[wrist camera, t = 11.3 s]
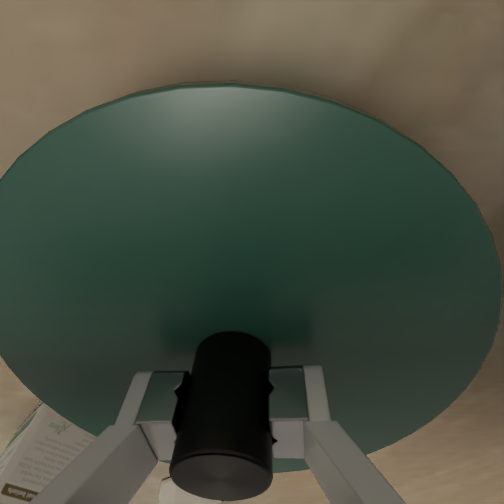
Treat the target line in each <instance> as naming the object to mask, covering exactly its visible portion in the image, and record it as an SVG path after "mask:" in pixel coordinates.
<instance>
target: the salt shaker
mask: <svg viewBox="0 0 504 504" xmlns="http://www.w3.org/2000/svg"><path fill="white" fill-rule="evenodd" d="M158 504H221V501H220V500H211V499H206V498H202V497H198V496H195V495H192V494H190V493H188V492H186V491H184V490H182V489H181V488H179V487H178V486H177V485H176V484H175V483H174V482H173V481H172V479H171V477H170V478H168V479H165V480H163V481H162V482H161V486H160V493H159V500H158Z"/></svg>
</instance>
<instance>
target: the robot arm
mask: <svg viewBox="0 0 504 504" xmlns="http://www.w3.org/2000/svg"><path fill="white" fill-rule="evenodd" d="M189 380H190V373H189V371H138V372H137V373H136V374H135V376H134V377H133V380H132V382H131V385H130V387H129V390H128V392H127V395H126V397H125V400H124V402H123V405H122V407H121V410H120V412H119V415H118V417H117V420H116V422H115V425H109V426H108V427H107V428H106V429H105V430H104V431H103V432H102V433H101V434H100V435H99V436H98V437H97V438H96V439H95V440H94V441H92V442H91V443H90V444H89V445H88V446H87V447H86V448H85V449H84V450H83V451H82V452H81V453H80V454H79V455H78V456H77V457H76V458H75V459H74V460H73V461H72V462H71V463H70V464H69V465H67V466H66V467H65V468H64V469H63V470H62V471H61V472H60V473H59V474H58V475H57V476H56V477H55V478H54V479H53V480H52V481H51V482H50V483H49V484H48V485H47V486H46V487H45V488H44V489H43V490H41V491H40V492H39V493H38V494H37V495H36V496H35V497H34V498H33V499H32V500H31V501H30V502H29V503H28V504H128V503H129V501H130V500H131V499H132V497H133V496H134V494H135V493H136V492H137V490H138V489H139V488H140V486H141V485H142V483H143V482H144V481H145V479H146V478H147V477H148V475H149V474H150V472H151V471H152V470H153V468H154V467H155V466H156V464H157V463H158V461H157V460H171V459H172V454H173V450H174V446H175V441H176V437H177V432H178V428H179V424H180V419H181V415H182V410H183V406H184V402H185V397H186V393H187V388H188V384H189ZM268 381H269V390H270V394H269V396H268V397H269V427H270V434H271V436H272V449H273V455H274V458H296V459H305V461H306V463H307V465H308V466H309V468H310V470H311V471H312V473H313V475H314V476H315V478H316V480H317V481H318V483H319V484H320V486H321V488H322V489H323V491H324V493H325V494H326V496H327V498H328V499H329V501H330V503H331V504H406V503H405V502H404V500H403V499H402V498H401V497H400V496H399V494H398V493H397V492H396V491H395V490H394V488H393V487H392V486H391V485H390V484H389V483H388V481H387V480H386V479H385V478H384V477H383V475H382V474H381V473H380V472H379V471H378V469H377V468H376V467H375V466H374V465H373V463H372V462H371V461H370V460H369V459H368V457H367V456H366V455H365V454H364V453H363V451H362V450H361V449H360V448H359V447H358V445H357V444H356V443H355V442H354V441H353V440H352V438H351V437H350V436H349V435H348V434H347V432H346V431H345V430H344V429H343V428H342V426H341V425H340V424H339V423H338V422H337V420H331V418H330V412H329V406H328V400H327V394H326V388H325V382H324V376H323V370H322V367H321V365H307V366H303V365H297V366H277V367H269V373H268Z"/></svg>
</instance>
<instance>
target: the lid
mask: <svg viewBox="0 0 504 504" xmlns="http://www.w3.org/2000/svg"><path fill="white" fill-rule="evenodd" d="M502 298H503V290H502V277H501V265H500V261H499V258H498V255H497V251H496V248H495V244H494V241H493V237H492V234H491V232H490V230H489V228H488V226H487V224H486V222H485V220H484V219H483V217H482V215H481V213H480V211H479V209H478V207H477V205H476V203H475V202H474V201H473V199H472V198H471V197H470V196H469V194H468V193H467V192H466V191H465V189H464V188H463V187H462V186H461V184H460V183H459V182H458V181H457V179H456V178H455V177H454V175H453V174H452V173H451V172H450V171H449V170H447V169H446V168H445V167H444V166H443V165H442V164H441V163H440V162H438V161H437V160H436V159H435V158H434V157H433V156H432V155H430V154H429V153H428V152H427V151H426V150H425V149H424V148H423V147H421V146H420V145H419V144H417V143H416V142H415V141H413V140H412V139H410V138H409V137H407V136H405V135H404V134H402V133H401V132H399V131H397V130H396V129H394V128H393V127H391V126H389V125H388V124H386V123H385V122H383V121H381V120H380V119H378V118H377V117H375V116H373V115H370V114H368V113H366V112H363V111H361V110H359V109H356V108H354V107H351V106H349V105H347V104H344V103H342V102H340V101H337V100H335V99H333V98H330V97H326V96H322V95H318V94H314V93H310V92H306V91H303V90H299V89H295V88H291V87H287V86H282V85H273V84H264V83H254V82H245V81H235V80H230V81H206V82H184V83H179V84H173V85H168V86H163V87H158V88H153V89H148V90H142V91H137V92H135V93H132V94H129V95H126V96H124V97H121V98H118V99H115V100H113V101H110V102H107V103H104V104H102V105H99V106H96V107H94V108H91V109H89V110H86V111H84V112H83V113H81V114H79V115H77V116H76V117H74V118H72V119H70V120H69V121H67V122H65V123H63V124H61V125H60V126H58V127H56V128H54V129H53V130H51V131H49V132H48V133H47V134H45V135H44V136H43V137H42V138H41V139H39V140H38V141H37V142H36V143H35V144H33V145H32V146H31V147H30V148H29V149H27V150H26V151H25V152H24V153H23V154H22V155H20V156H19V157H18V158H17V159H16V161H15V162H14V163H13V164H12V166H11V167H10V168H9V169H8V171H7V172H6V173H5V174H4V176H3V177H2V178H1V179H0V355H1V357H2V358H3V360H4V361H5V363H6V364H7V366H8V367H9V368H10V369H11V370H12V371H13V373H14V374H15V375H16V376H17V377H18V378H19V380H20V381H21V382H22V383H23V384H24V385H25V386H26V387H27V388H28V389H29V390H30V391H31V392H32V393H33V394H34V395H36V396H37V397H38V398H39V399H40V400H41V401H42V402H44V403H45V404H46V405H47V406H49V407H50V408H51V409H53V410H54V411H55V412H56V413H58V414H59V415H60V416H62V417H64V418H65V419H67V420H68V421H70V422H71V423H73V424H75V425H76V426H78V427H79V428H81V429H83V430H85V431H87V432H88V433H90V434H92V435H94V436H96V437H98V436H99V435H100V434H101V433H102V432H103V431H104V430H105V429H106V428H107V427H108V426H109V425H115V422H116V420H117V417H118V415H119V412H120V410H121V407H122V405H123V402H124V400H125V397H126V395H127V392H128V390H129V387H130V385H131V382H132V380H133V377H134V376H135V374H136V373H137V372H138V371H189V373H190V380H189V384H188V388H187V393H186V397H185V402H184V406H183V410H182V415H181V419H180V424H179V428H178V432H177V437H176V441H175V446H174V450H173V454H172V459H171V460H159V461H162V462H166V463H170V468H169V472H170V477H171V479H172V481H173V482H174V483H175V484H176V485H177V486H178V487H179V488H181V489H182V490H184V491H186V492H188V493H190V494H192V495H195V496H198V497H202V498H206V499H211V500H220V501H235V500H243V499H248V498H252V497H255V496H257V495H260V494H261V493H263V492H265V491H266V490H267V489H268V488H269V486H270V485H271V482H272V479H273V473H281V472H290V471H300V470H307V469H310V468H309V466H308V465H307V463H306V461H305V459H296V458H274V455H273V449H272V436H271V434H270V427H269V397H268V396H269V394H270V390H269V381H268V373H269V367H277V366H297V365H303V366H307V365H321V367H322V370H323V376H324V382H325V388H326V394H327V400H328V406H329V412H330V418H331V420H337V422H338V423H339V424H340V425H341V426H342V428H343V429H344V430H345V431H346V432H347V434H348V435H349V436H350V437H351V438H352V440H353V441H354V442H355V443H356V444H357V445H358V447H359V448H360V449H361V450H362V451H363V453H364V454H365V455H367V454H370V453H372V452H374V451H377V450H379V449H382V448H384V447H386V446H389V445H391V444H393V443H395V442H397V441H399V440H401V439H403V438H404V437H406V436H408V435H410V434H412V433H413V432H415V431H416V430H418V429H420V428H421V427H423V426H424V425H426V424H427V423H429V422H430V421H432V420H433V419H434V418H435V417H436V416H438V415H439V414H440V413H441V412H443V411H444V410H445V409H446V408H447V407H449V406H450V405H451V404H452V403H453V402H454V401H455V400H456V398H457V397H458V396H459V395H460V394H461V393H462V392H463V391H464V390H465V389H466V388H467V387H468V385H469V384H470V382H471V381H472V380H473V378H474V377H475V375H476V374H477V373H478V371H479V370H480V369H481V367H482V365H483V363H484V361H485V359H486V357H487V355H488V353H489V351H490V349H491V347H492V345H493V341H494V338H495V335H496V332H497V329H498V325H499V322H500V315H501V306H502Z"/></svg>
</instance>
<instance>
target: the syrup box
mask: <svg viewBox="0 0 504 504" xmlns="http://www.w3.org/2000/svg"><path fill="white" fill-rule="evenodd" d="M96 438H97V437H96V436H94V435H92V434H90V433H88V432H87V431H85V430H83V429H81V428H79V427H78V426H76V425H75V424H73V423H71V422H70V421H68V420H67V419H65V418H64V417H62V416H60V415H59V414H58V413H56V412H55V411H54V410H53V409H51V408H50V407H49V406H47V405H46V404H45V403H43V404H42V405H41V406H40V407H39V408H38V409H37V410H36V411H35V412H34V413H33V414H32V415H31V416H30V417H29V418H28V419H27V420H26V421H25V423H24V424H23V425H22V426H21V427H20V428H19V430H18V431H17V432H16V433H15V434H14V436H13V438H12V439H11V441H10V442H9V444H8V446H7V447H6V449H5V451H4V452H3V454H2V456H1V457H0V504H28V503H29V502H30V501H31V500H32V499H33V498H34V497H35V496H36V495H37V494H38V493H39V492H40V491H41V490H43V489H44V488H45V487H46V486H47V485H48V484H49V483H50V482H51V481H52V480H53V479H54V478H55V477H56V476H57V475H58V474H59V473H60V472H61V471H62V470H63V469H64V468H65V467H66V466H67V465H69V464H70V463H71V462H72V461H73V460H74V459H75V458H76V457H77V456H78V455H79V454H80V453H81V452H82V451H83V450H84V449H85V448H86V447H87V446H88V445H89V444H90V443H91V442H92V441H94V440H95V439H96Z"/></svg>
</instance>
